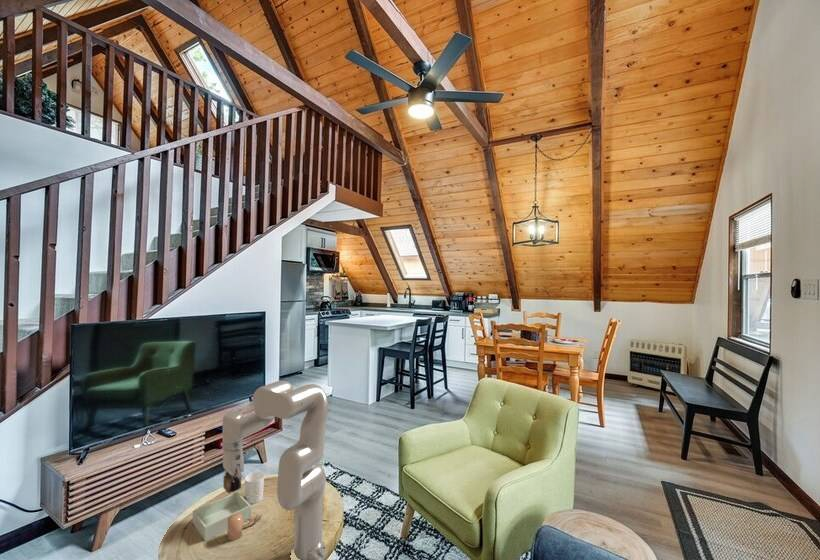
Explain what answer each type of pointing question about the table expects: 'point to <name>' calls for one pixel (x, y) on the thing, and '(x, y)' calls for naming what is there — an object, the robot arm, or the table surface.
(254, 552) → the table surface
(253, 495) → the white cup
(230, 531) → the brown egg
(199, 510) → the tote
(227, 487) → the cube
